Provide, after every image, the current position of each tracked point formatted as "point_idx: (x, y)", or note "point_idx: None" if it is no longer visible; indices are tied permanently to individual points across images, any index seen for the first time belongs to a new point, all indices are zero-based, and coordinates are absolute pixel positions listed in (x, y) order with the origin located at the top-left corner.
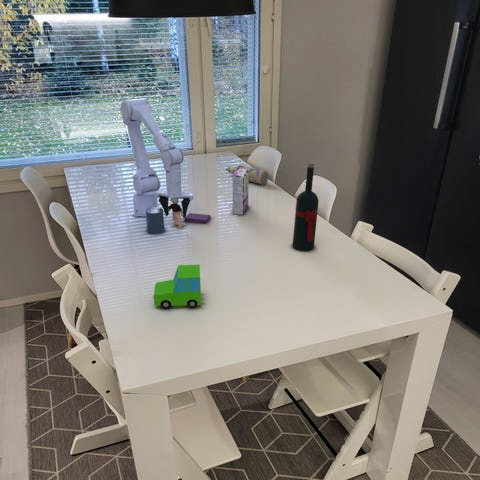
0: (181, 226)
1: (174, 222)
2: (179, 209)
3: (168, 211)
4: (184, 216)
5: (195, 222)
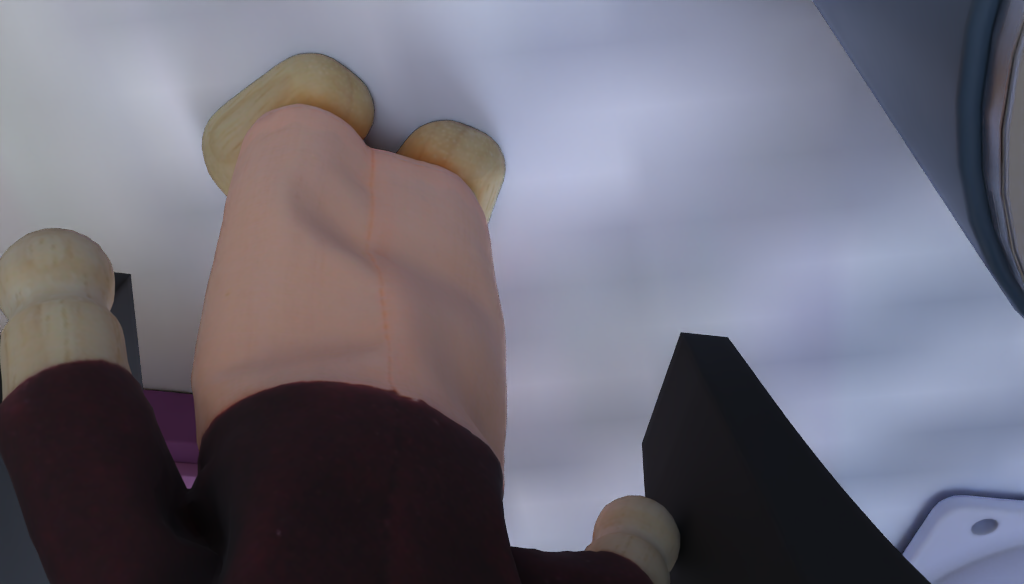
0: (245, 100)
1: (448, 193)
2: (92, 446)
3: None
4: None
5: None
